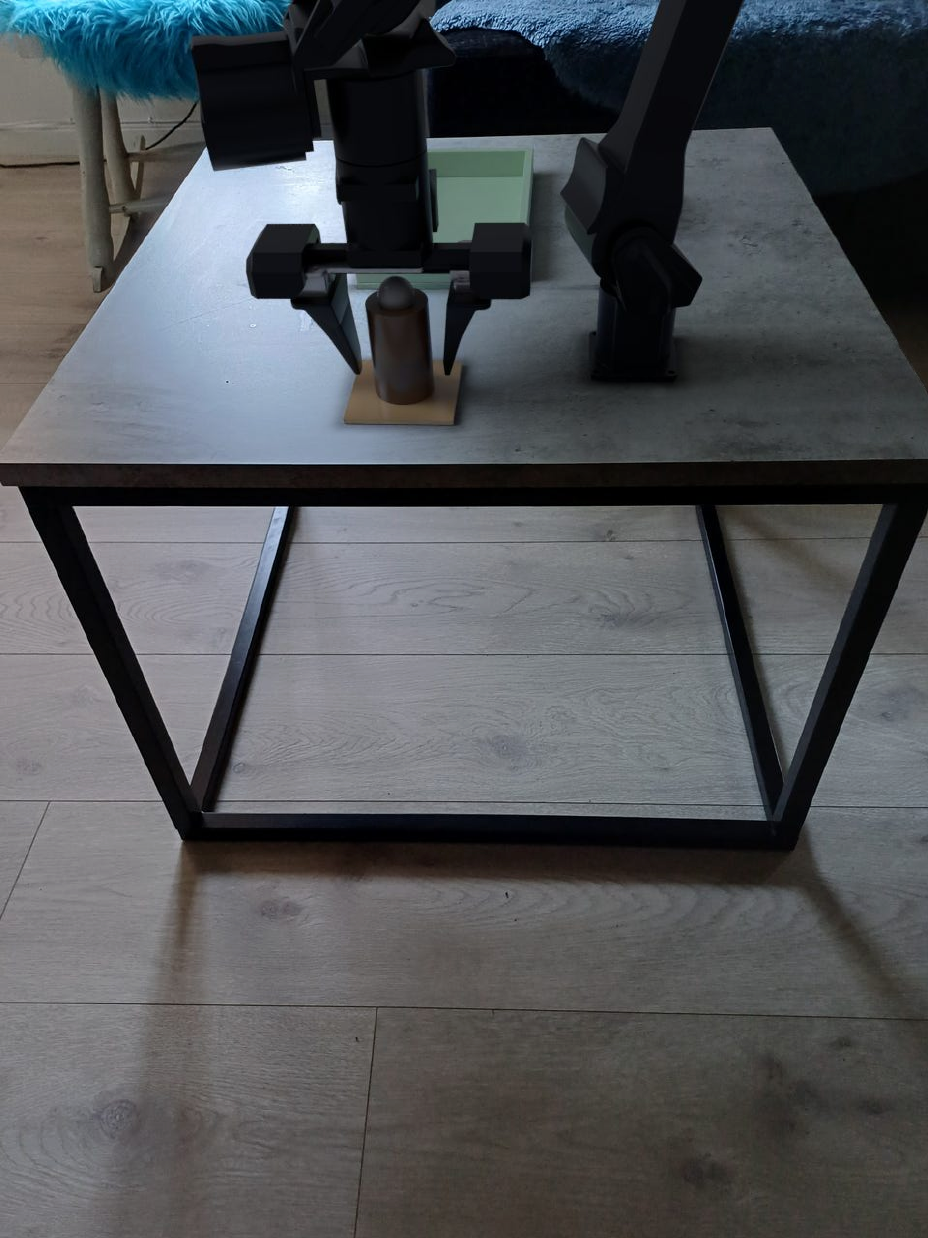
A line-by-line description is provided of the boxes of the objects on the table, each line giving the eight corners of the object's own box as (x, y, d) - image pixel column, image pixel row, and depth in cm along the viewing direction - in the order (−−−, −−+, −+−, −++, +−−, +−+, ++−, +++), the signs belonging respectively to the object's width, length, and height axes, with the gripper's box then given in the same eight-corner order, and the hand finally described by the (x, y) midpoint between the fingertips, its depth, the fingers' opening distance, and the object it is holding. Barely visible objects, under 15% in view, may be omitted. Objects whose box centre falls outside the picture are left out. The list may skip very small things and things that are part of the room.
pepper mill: (431, 405, 68) (422, 293, 62) (371, 404, 69) (357, 293, 62) (437, 372, 71) (429, 262, 65) (380, 372, 72) (367, 262, 65)
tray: (524, 289, 80) (524, 254, 78) (357, 288, 82) (352, 254, 80) (533, 178, 97) (533, 147, 94) (393, 180, 98) (390, 148, 96)
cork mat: (453, 425, 67) (453, 420, 67) (343, 423, 68) (342, 418, 67) (462, 364, 73) (462, 360, 72) (361, 364, 73) (360, 359, 73)
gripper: (536, 101, 62) (533, 317, 74) (262, 105, 64) (301, 316, 75) (531, 167, 55) (528, 397, 66) (220, 170, 56) (270, 394, 68)
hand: (403, 372), depth 69 cm, fingers open, 6 cm apart
